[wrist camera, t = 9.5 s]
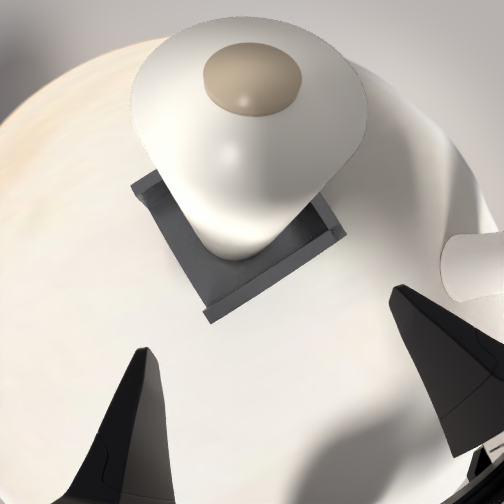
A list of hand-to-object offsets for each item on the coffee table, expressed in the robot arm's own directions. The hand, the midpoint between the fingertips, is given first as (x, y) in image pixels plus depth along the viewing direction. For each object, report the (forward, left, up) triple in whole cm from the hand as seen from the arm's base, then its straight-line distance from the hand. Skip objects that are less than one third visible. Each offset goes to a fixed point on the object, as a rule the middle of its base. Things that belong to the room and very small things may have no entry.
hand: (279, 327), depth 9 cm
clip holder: (+2, -5, -9) cm, 11 cm away
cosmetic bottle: (-18, -5, -9) cm, 21 cm away
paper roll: (+2, -5, -8) cm, 10 cm away
